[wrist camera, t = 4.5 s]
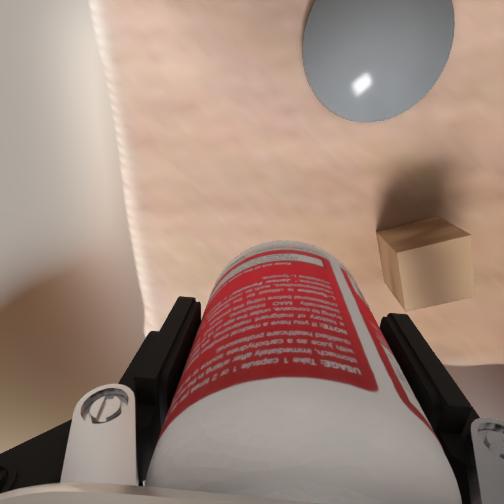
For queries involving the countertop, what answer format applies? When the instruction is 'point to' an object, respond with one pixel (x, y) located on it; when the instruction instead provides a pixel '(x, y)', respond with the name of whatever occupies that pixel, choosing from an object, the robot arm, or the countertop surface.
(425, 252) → the light brown wooden block
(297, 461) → the pill bottle
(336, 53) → the coaster
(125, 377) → the robot arm
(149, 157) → the countertop surface
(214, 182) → the countertop surface
